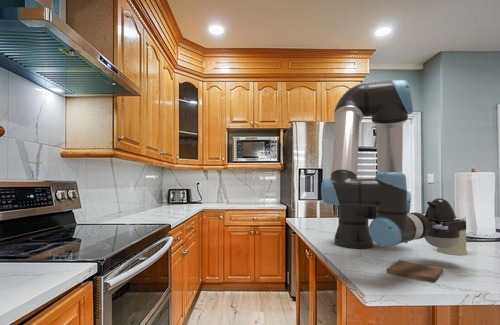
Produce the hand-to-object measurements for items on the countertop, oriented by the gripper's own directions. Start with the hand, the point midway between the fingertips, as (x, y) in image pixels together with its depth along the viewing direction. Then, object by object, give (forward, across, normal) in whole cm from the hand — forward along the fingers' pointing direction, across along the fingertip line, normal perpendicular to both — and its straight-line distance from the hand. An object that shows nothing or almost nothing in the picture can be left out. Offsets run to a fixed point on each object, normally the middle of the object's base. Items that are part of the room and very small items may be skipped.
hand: (446, 219), depth 98 cm
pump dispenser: (-4, 0, -8) cm, 9 cm away
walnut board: (-20, 0, -14) cm, 24 cm away
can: (+16, -5, -14) cm, 22 cm away
